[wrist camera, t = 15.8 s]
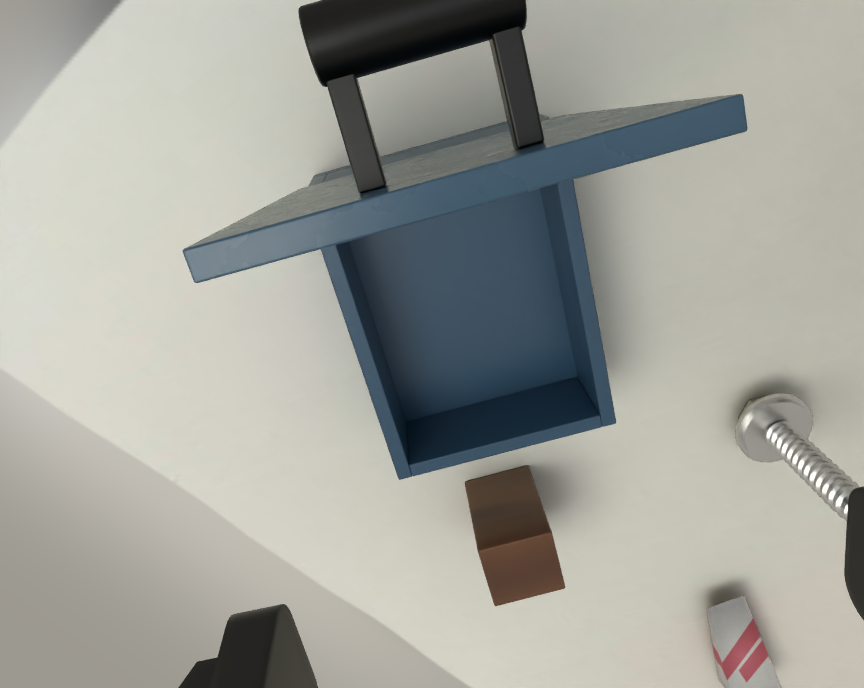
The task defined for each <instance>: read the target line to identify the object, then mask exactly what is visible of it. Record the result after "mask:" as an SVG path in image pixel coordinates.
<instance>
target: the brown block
mask: <svg viewBox="0 0 864 688" xmlns="http://www.w3.org/2000/svg"><path fill="white" fill-rule="evenodd" d="M465 487H466V492H467V497H468V502H469V507H470V513H471V518H472V523H473V528H474V534H475V539H476V544H477V549H478V553H479V557H480V560H481V563H482V566H483V570H484V573H485V576H486V580H487V583H488V586H489V589H490V593H491V596H492V599H493V603H494V605H495V606H498V605H502V604H506V603H510V602H514V601H518V600H522V599H526V598H530V597H533V596H537V595H541V594H545V593H549V592H553V591H557V590H561V589H564V588H565V584H564V580H563V576H562V572H561V567H560V563H559V559H558V555H557V551H556V547H555V543H554V539H553V535H552V531H551V528H550V526H549V523H548V520H547V517H546V514H545V511H544V509H543V506H542V503H541V500H540V497H539V494H538V492H537V489H536V486H535V483H534V480H533V477H532V475H531V472H530V469H529V466H524V467H520V468H516V469H512V470H509V471H505V472H501V473H497V474H494V475H490V476H486V477H482V478H478V479H475V480H471V481H467V482H465Z"/></svg>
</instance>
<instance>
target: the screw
mask: <svg viewBox="0 0 864 688" xmlns="http://www.w3.org/2000/svg"><path fill="white" fill-rule="evenodd" d="M738 419H739V421H738V423H737V426H736V430H735V438H736V442H737V445H738V446H739V448H740V450H741V451H742V452H743V453H744V454H745V455H746V456H747V457H749V458H751V459H753V460H755V461H759V462H774V461H779V460H782V459H783V460H784V461H785V462H786V463H788V465H789V466H790V467H791V468H793V469H794V471H795V472H796V473H797V474H799V476H800V477H801V478H802V479H803V480H805V482H806V483H807V484H808V485H809V486H811V488H812V489H813V490H814V491H815V492H817V494H818V496H819V497H821V498H822V499H823V500H824V502H825V503H826V504H828V505H829V506H830V508H831V509H832V510H833V511H835V512H837V514H838V515H839V516H840V517H842V518H844V519H845V520H846V521H847V511H848V498H849V495H850V493H851V491H852V490H854V489H855V488H859V486H858V484H857V483H856V482H853V481H852V479H851V478H850V477H849V476H847V475H846V474H845V472H844V471H843V470H841V469H839V467H838V466H837V465H836V464H834V463H833V462H832V460H831V459H829V458H827V457H826V455H825V454H824V453H822V452H821V451H820V450H819V448H817V447H815V445H814V444H813V443H812V442H810V441H809V440H808V437H809V435H810V433H811V431H812V426H813V416H812V413H811V410H810V408H809V407H808V406H807V404H806V403H805V402H803V401H802V400H801V399H800V398H798V397H796V396H794V395H791V394H785V393H780V394H772V395H768V396H765V397H763V398H758V399H753V400H749V401H748V402H747V404H746V406H745V408H744V409H743V411H742V413H741V415H740V416H739V418H738Z"/></svg>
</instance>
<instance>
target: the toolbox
mask: <svg viewBox="0 0 864 688" xmlns="http://www.w3.org/2000/svg"><path fill="white" fill-rule="evenodd" d="M539 116H540V121H544V120H547V119H551V118H548V117H546V116H543V115H541V114H539ZM508 130H509V126H508V122H507V121H506V122H503V123H499V124H496V125H492V126H489V127H485V128H481V129H478V130H474V131H471V132H467V133H464V134H460V135H457V136H453V137H449V138H446V139H442V140H439V141H435V142H432V143H428V144H425V145H421V146H417V147H414V148H410V149H407V150H403V151H400V152H396V153H393V154H389V155H385V156H382V157H380V161H381V164H382V166H383V165H387V164H391V163H394V162H398V161H401V160H405V159H408V158H412V157H415V156H419V155H423V154H426V153H430V152H433V151H437V150H440V149H444V148H448V147H451V146H455V145H458V144H462V143H465V142H469V141H473V140H476V139H480V138H483V137H487V136H490V135H494V134H497V133H501V132H505V131H508ZM351 174H353V171H352V168H351V165H350V166H346V167H343V168H339V169H336V170H332V171H328V172H325V173H321V174H318V175H315V176H314V177H313V179H312V181H311V183H310V185H309V186H312V185H316V184H319V183H323V182H326V181H330V180H333V179H337V178H341V177H344V176H348V175H351ZM309 186H308V187H309ZM321 251H322V254H323V257H324V260H325V263H326V266H327V269H328V272H329V275H330V278H331V281H332V284H333V287H334V290H335V293H336V296H337V299H338V301H339V304H340V307H341V310H342V313H343V316H344V319H345V322H346V325H347V328H348V331H349V334H350V337H351V340H352V343H353V346H354V349H355V352H356V355H357V358H358V361H359V363H360V366H361V369H362V372H363V375H364V378H365V381H366V384H367V387H368V390H369V393H370V396H371V399H372V402H373V405H374V408H375V411H376V414H377V417H378V420H379V423H380V426H381V428H382V431H383V434H384V437H385V440H386V443H387V446H388V449H389V452H390V455H391V458H392V461H393V464H394V467H395V470H396V473H397V476H398V479H399V480H400V479H404V478H408V477H411V476H412V475H413V476H416V475H420V474H423V473H427V472H431V471H435V470H439V469H443V468H446V467H450V466H454V465H458V464H462V463H466V462H470V461H473V460H477V459H481V458H485V457H489V456H493V455H496V454H500V453H504V452H508V451H512V450H516V449H519V448H523V447H527V446H531V445H535V444H539V443H542V442H546V441H550V440H554V439H558V438H562V437H565V436H569V435H573V434H577V433H581V432H585V431H589V430H592V429H596V428H600V427H602V426H608V425H612V424H615V423H616V418H615V413H614V407H613V402H612V396H611V390H610V385H609V379H608V374H607V368H606V362H605V357H604V351H603V345H602V340H601V334H600V329H599V323H598V317H597V312H596V306H595V301H594V295H593V289H592V284H591V278H590V272H589V267H588V261H587V256H586V250H585V244H584V239H583V233H582V228H581V222H580V216H579V211H578V205H577V200H576V194H575V188H574V183H573V179H572V180H569V181H565V182H561V183H558V184H554V185H550V186H547V187H543V188H540V189H536V190H532V191H529V192H525V193H522V194H518V195H514V196H511V197H507V198H503V199H500V200H496V201H493V202H489V203H485V204H482V205H478V206H474V207H471V208H467V209H464V210H460V211H456V212H453V213H449V214H446V215H442V216H438V217H435V218H431V219H427V220H424V221H420V222H417V223H413V224H409V225H406V226H402V227H398V228H395V229H391V230H388V231H384V232H380V233H377V234H373V235H370V236H366V237H362V238H359V239H355V240H351V241H348V242H344V243H341V244H337V245H333V246H330V247H326V248H323V249H321Z"/></svg>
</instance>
